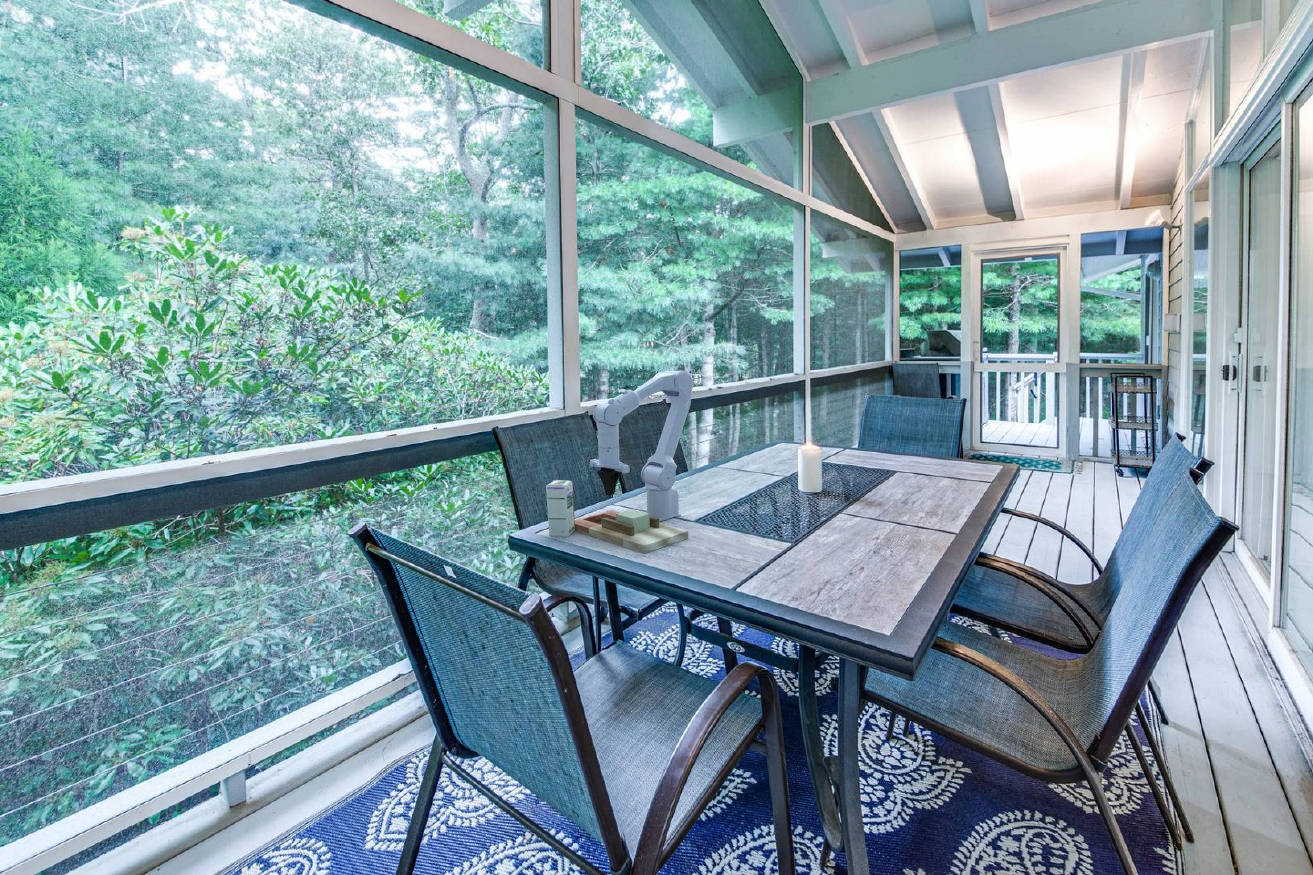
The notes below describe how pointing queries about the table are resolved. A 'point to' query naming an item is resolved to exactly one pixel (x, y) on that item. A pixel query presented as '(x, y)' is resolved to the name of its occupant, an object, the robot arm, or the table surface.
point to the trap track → (630, 532)
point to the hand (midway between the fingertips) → (610, 494)
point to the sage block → (634, 519)
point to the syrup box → (560, 508)
